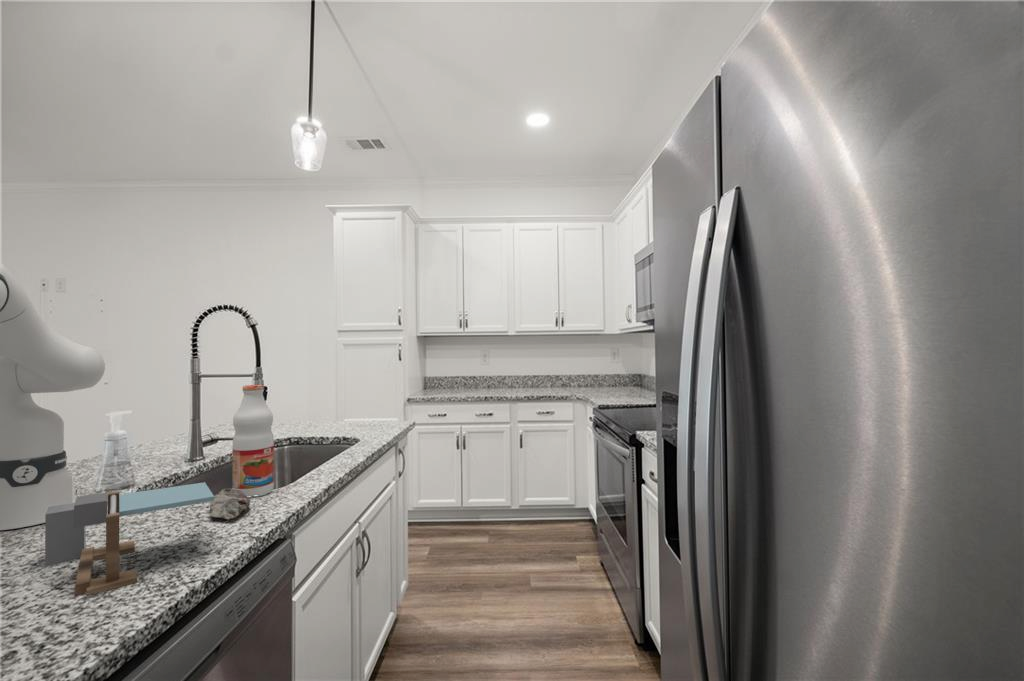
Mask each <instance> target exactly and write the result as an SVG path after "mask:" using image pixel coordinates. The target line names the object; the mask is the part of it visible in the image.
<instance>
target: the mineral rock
mask: <svg viewBox="0 0 1024 681" xmlns="http://www.w3.org/2000/svg"><path fill="white" fill-rule="evenodd" d="M250 506H251V500H250V499H249V498H247V496H246V495H245V494H244V493H243V492H242V491H241V490H236V489H233V487H232V488H229V487H224V488H223V489H221V490H220V491H219V492H218V494H215V495H214V501H210V502H209V517H210V518H220V519H224V520H231V519H235V518H238V516H240V515H241V514H240V513H243V514H245V513H247V511H249V509H250V508H249V507H250Z"/></svg>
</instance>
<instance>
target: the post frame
mask: <svg viewBox="0 0 1024 681" xmlns="http://www.w3.org/2000/svg"><path fill="white" fill-rule="evenodd" d="M112 495H116V513H114V514H110V501H111V496H112ZM119 495H120V491H119V490H117V491H111V492H108V501H107V515H106V523H105V546H102V547H97V548H95V547H94V546H92V547H86V548H85V549H82V552H81V557H80V559H79V564H78V570H77V573H76V579H75V585H74V587H75V588H74V590H75V595H74V596H79V595H83V594H86V596H92V595H94V594H95V595H96V594H99V593H103V592H105V591H109V590H113V589H117V588H122V587H126V586H129V585H132V584H137V583H138V573H137V571H138V570H137V568H133V569H129V570H125V571H121V572H120V555H124V554H130V553H133V552H135V551H136V550H135V549H136V547H135V540H130V541H125V542H120V517H119ZM129 552H130V553H129ZM103 559H105V576H101V577H98V578H92V573H93V567H94V566H93V565H94V561H93V560H95V561H99V560H103Z"/></svg>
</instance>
